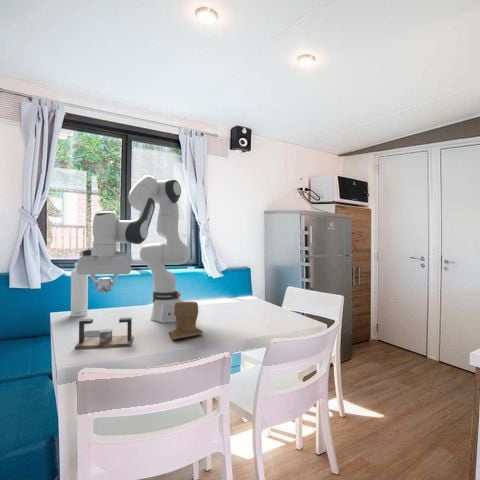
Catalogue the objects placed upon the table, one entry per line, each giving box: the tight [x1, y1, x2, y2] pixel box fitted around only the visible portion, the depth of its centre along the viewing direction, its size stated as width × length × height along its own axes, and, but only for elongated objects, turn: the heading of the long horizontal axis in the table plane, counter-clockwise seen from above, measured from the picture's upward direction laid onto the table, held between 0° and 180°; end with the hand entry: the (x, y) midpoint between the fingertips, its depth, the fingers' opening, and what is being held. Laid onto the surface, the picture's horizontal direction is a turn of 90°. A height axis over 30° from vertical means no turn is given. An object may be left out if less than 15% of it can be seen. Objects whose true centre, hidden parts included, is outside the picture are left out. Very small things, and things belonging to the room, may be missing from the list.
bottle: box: [70, 261, 89, 317], centre depth 176 cm, size 8×8×28 cm
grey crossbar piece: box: [97, 277, 113, 294], centre depth 133 cm, size 12×5×5 cm, turn 13°
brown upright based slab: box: [168, 301, 204, 341], centre depth 141 cm, size 15×12×15 cm
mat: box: [84, 329, 102, 337], centre depth 142 cm, size 9×9×1 cm
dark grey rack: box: [74, 316, 134, 350], centre depth 131 cm, size 20×11×10 cm, turn 102°
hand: (104, 285), depth 133 cm, fingers closed on grey crossbar piece, 5 cm apart
